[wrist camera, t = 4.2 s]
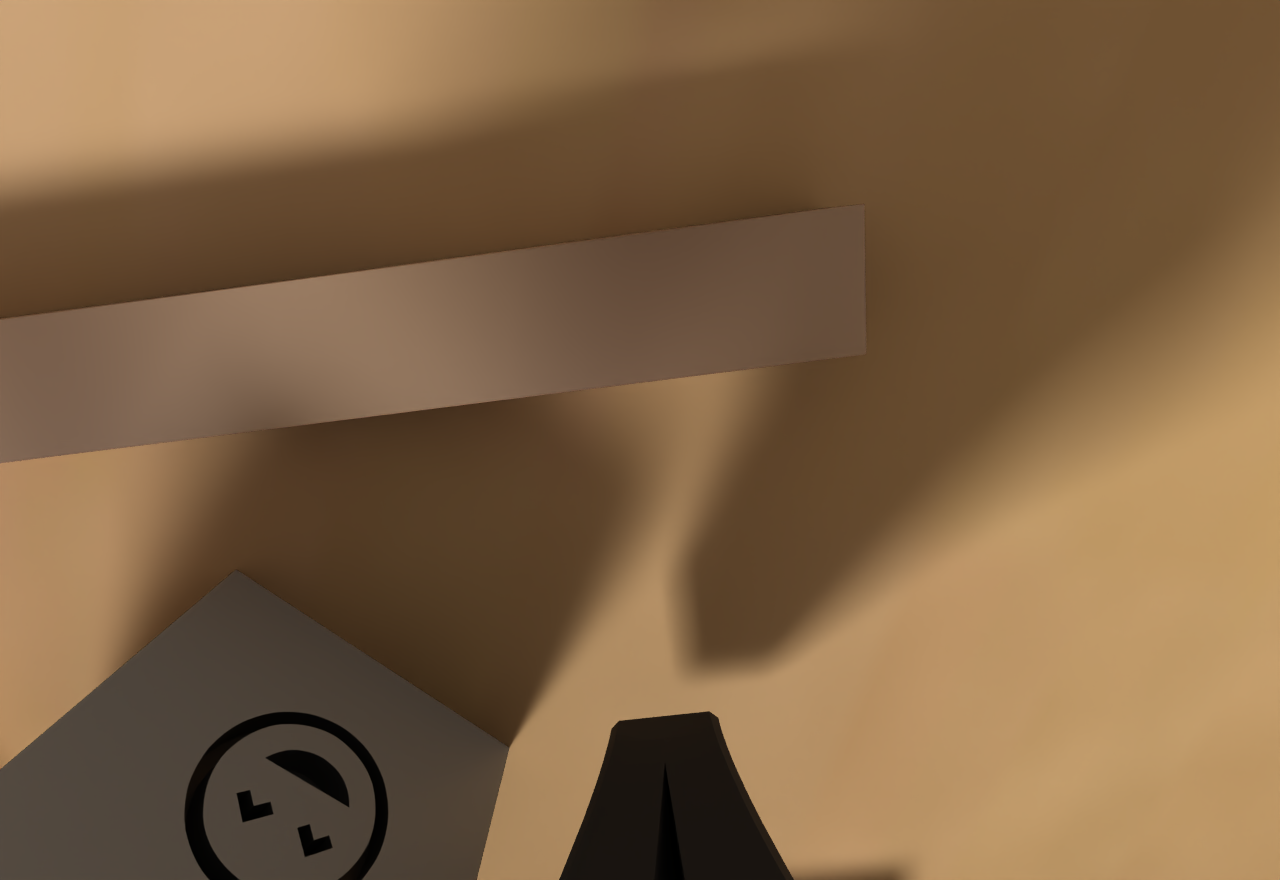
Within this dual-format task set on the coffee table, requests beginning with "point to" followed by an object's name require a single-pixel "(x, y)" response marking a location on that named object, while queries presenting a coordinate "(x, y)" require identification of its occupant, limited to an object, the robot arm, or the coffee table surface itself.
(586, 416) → the coffee table surface
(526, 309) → the guide channel
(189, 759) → the dice cube
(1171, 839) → the coffee table surface
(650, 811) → the robot arm
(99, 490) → the coffee table surface
